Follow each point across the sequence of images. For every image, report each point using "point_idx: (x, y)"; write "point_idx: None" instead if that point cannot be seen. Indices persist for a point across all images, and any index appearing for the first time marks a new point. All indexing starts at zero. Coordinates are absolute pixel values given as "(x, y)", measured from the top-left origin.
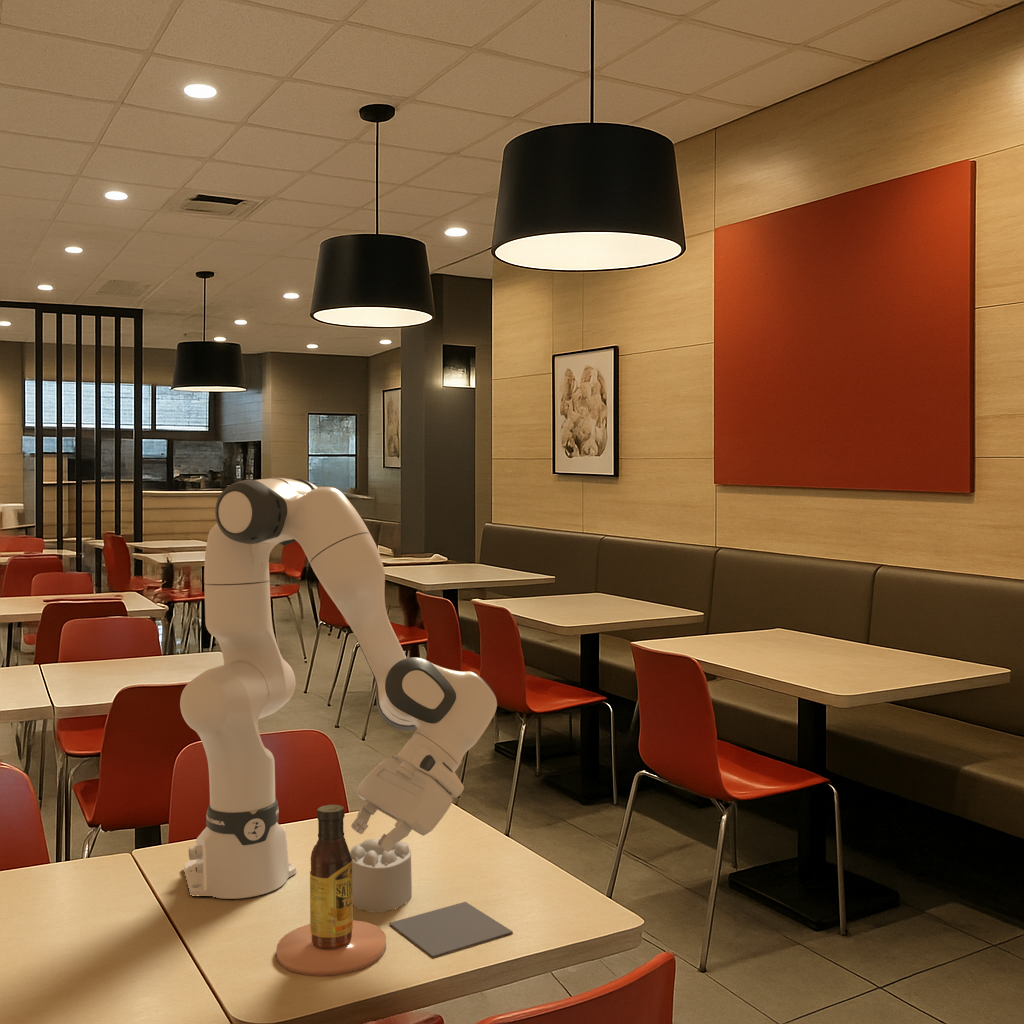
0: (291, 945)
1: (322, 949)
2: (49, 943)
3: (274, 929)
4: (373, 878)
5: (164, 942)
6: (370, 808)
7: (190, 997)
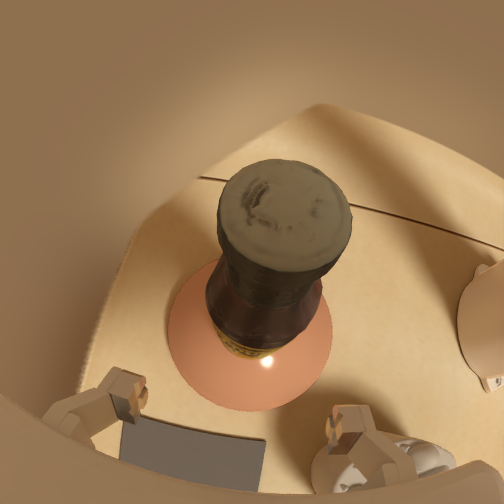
0: None
1: None
2: (424, 151)
3: (365, 303)
4: (343, 457)
5: (393, 201)
6: (371, 486)
7: None
